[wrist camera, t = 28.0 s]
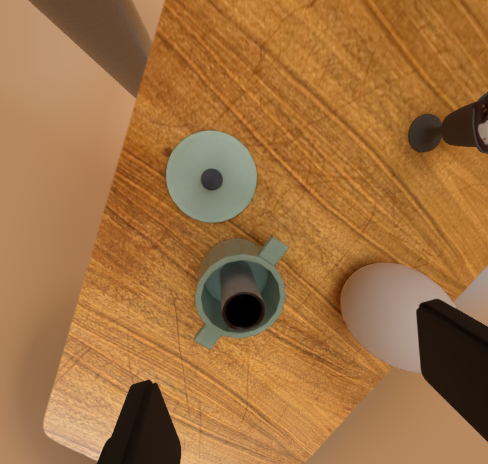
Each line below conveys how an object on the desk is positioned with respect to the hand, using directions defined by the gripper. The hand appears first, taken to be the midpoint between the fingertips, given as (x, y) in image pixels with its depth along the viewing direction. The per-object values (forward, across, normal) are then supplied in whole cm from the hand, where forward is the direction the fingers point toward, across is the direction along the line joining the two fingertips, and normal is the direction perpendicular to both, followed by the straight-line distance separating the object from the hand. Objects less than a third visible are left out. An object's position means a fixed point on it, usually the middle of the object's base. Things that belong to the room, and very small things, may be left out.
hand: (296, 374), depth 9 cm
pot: (+28, +2, +7) cm, 29 cm away
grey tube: (+28, +2, +7) cm, 29 cm away
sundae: (+28, -28, -5) cm, 40 cm away
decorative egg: (+28, -17, +16) cm, 37 cm away
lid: (+28, +1, -6) cm, 28 cm away
